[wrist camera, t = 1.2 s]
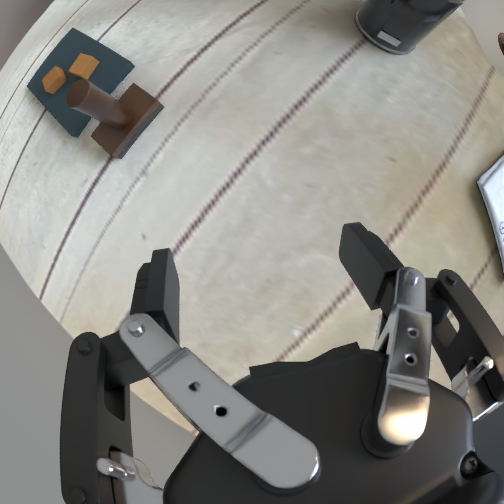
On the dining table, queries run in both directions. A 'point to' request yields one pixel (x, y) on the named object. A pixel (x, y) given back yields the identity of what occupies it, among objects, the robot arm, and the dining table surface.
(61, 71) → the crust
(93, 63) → the brown wooden block
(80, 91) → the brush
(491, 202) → the folded bicycle print cloth
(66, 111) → the tray
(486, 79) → the dining table surface
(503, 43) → the cup and saucer
